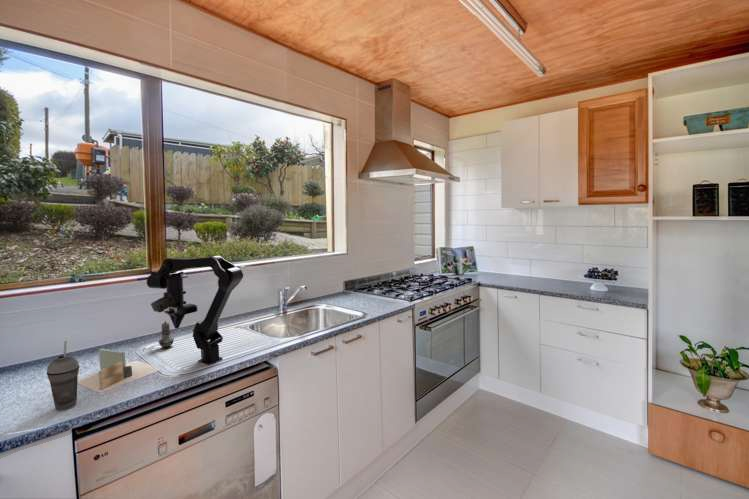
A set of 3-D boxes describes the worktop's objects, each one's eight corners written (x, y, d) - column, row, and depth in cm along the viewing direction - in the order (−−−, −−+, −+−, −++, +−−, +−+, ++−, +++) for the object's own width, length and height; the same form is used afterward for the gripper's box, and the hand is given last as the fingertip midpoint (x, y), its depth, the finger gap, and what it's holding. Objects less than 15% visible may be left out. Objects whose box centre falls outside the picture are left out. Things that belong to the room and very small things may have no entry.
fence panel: (125, 374, 126) (124, 352, 125) (123, 375, 125) (121, 353, 124) (103, 370, 129) (101, 348, 128) (100, 371, 128) (99, 349, 127)
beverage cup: (62, 401, 108) (57, 337, 106) (88, 400, 108) (83, 336, 107) (42, 415, 100) (36, 346, 99) (70, 413, 101) (64, 345, 99)
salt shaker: (167, 351, 149) (165, 323, 148) (155, 350, 150) (153, 322, 149) (177, 346, 154) (176, 319, 153) (166, 345, 156) (164, 318, 154)
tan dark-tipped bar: (128, 374, 126) (127, 357, 126) (133, 375, 126) (132, 358, 125) (98, 388, 115) (97, 370, 115) (104, 389, 115) (102, 371, 114)
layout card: (162, 369, 130) (162, 369, 130) (99, 393, 113) (99, 392, 113) (135, 361, 138) (135, 360, 138) (73, 381, 121) (73, 380, 121)
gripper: (139, 290, 137) (141, 330, 138) (169, 295, 128) (171, 337, 129) (168, 285, 147) (169, 322, 148) (197, 290, 138) (199, 329, 139)
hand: (176, 328), depth 141 cm, fingers closed
